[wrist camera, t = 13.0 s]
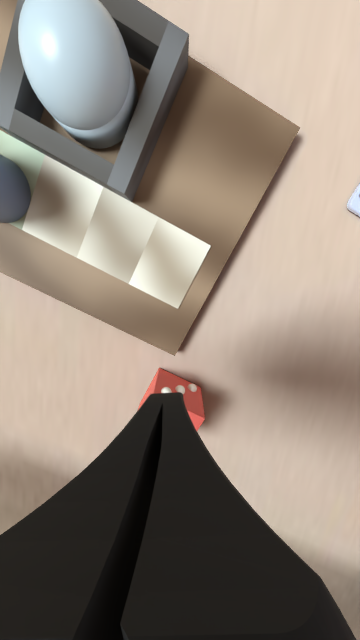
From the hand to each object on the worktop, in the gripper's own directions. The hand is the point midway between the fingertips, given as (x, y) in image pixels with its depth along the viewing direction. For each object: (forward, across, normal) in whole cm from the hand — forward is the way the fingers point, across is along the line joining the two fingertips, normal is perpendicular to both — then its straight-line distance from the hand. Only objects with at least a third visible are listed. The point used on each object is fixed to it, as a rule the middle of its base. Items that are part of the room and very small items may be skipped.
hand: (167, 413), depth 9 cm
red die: (+9, +1, +5) cm, 11 cm away
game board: (+9, +6, -12) cm, 16 cm away
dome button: (+8, +4, -16) cm, 18 cm away
